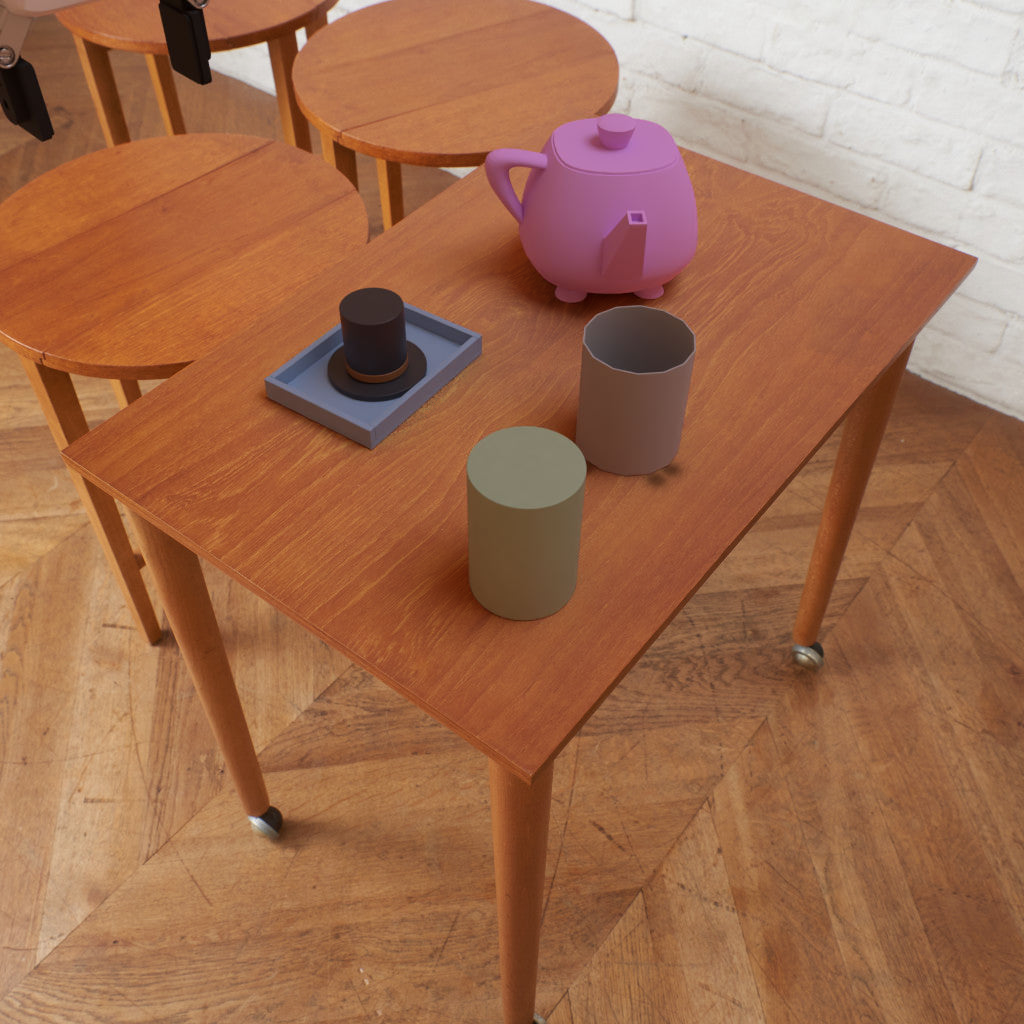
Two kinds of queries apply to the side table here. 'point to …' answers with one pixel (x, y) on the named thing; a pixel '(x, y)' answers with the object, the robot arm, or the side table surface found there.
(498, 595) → the pedestal
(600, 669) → the side table surface
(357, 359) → the hat
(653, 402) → the cup
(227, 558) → the side table surface
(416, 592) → the side table surface
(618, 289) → the teapot
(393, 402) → the tray
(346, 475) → the side table surface
